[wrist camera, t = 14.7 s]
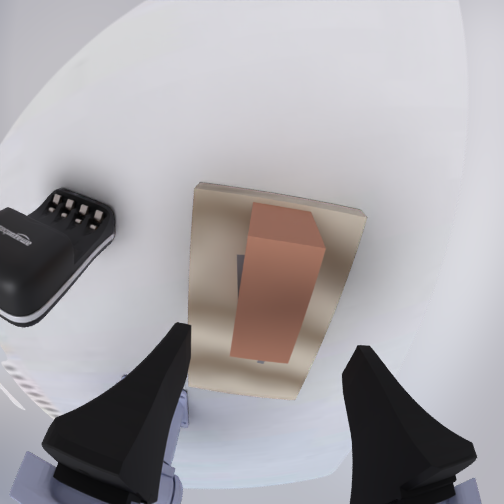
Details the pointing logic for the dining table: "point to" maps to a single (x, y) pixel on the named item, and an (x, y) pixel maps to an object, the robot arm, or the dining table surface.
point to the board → (228, 285)
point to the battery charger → (48, 252)
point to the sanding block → (276, 282)
